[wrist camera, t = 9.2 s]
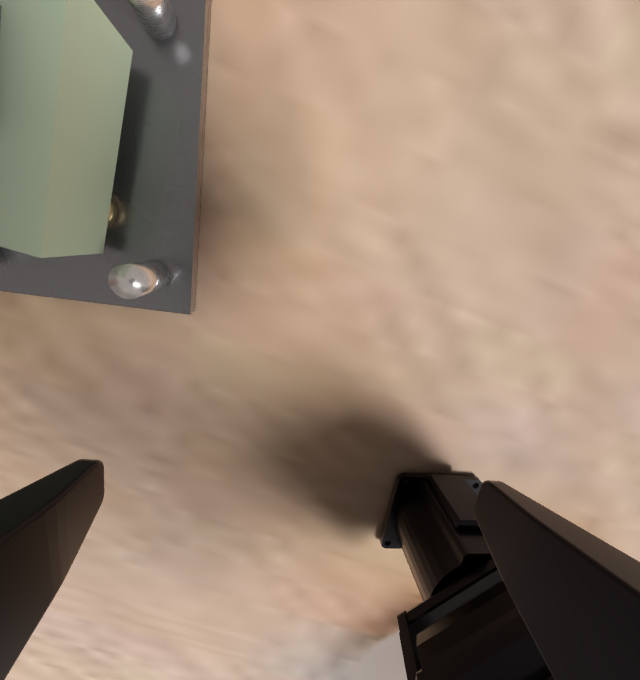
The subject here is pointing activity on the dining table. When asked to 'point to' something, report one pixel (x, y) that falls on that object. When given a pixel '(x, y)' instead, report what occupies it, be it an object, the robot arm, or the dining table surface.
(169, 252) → the chassis
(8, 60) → the pale green block
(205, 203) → the dining table surface
